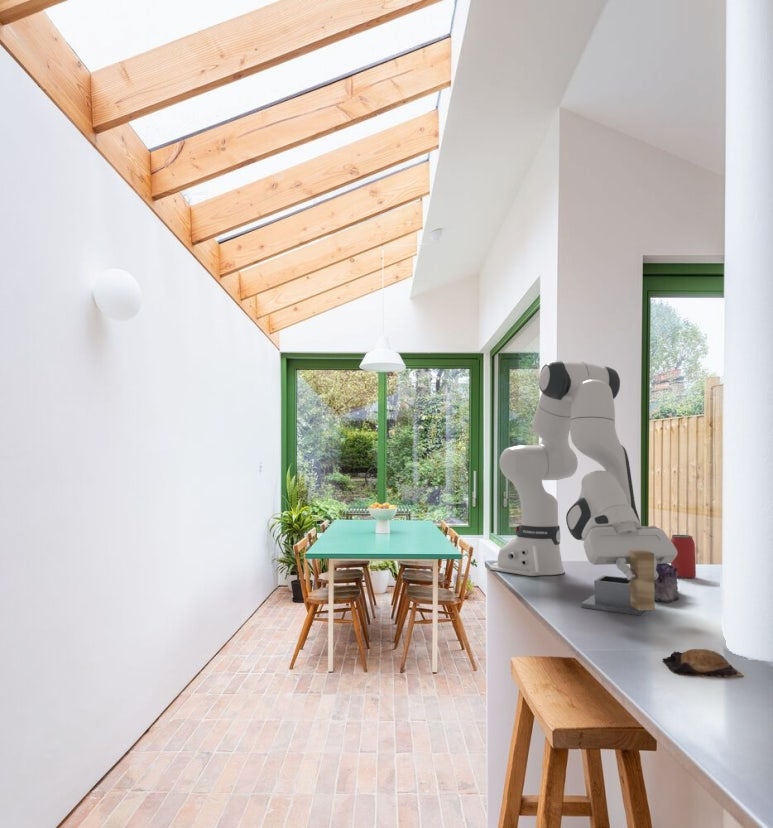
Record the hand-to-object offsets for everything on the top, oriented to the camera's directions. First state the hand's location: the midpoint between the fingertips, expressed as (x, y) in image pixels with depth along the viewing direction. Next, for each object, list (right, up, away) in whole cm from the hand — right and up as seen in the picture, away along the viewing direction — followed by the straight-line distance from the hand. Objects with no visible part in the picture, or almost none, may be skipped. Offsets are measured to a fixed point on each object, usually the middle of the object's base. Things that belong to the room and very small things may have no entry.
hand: (643, 578), depth 130 cm
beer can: (+32, -13, +47) cm, 58 cm away
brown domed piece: (-3, -7, -30) cm, 31 cm away
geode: (+14, -11, +25) cm, 31 cm away
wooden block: (0, -6, 0) cm, 6 cm away
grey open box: (-1, -10, +13) cm, 16 cm away
